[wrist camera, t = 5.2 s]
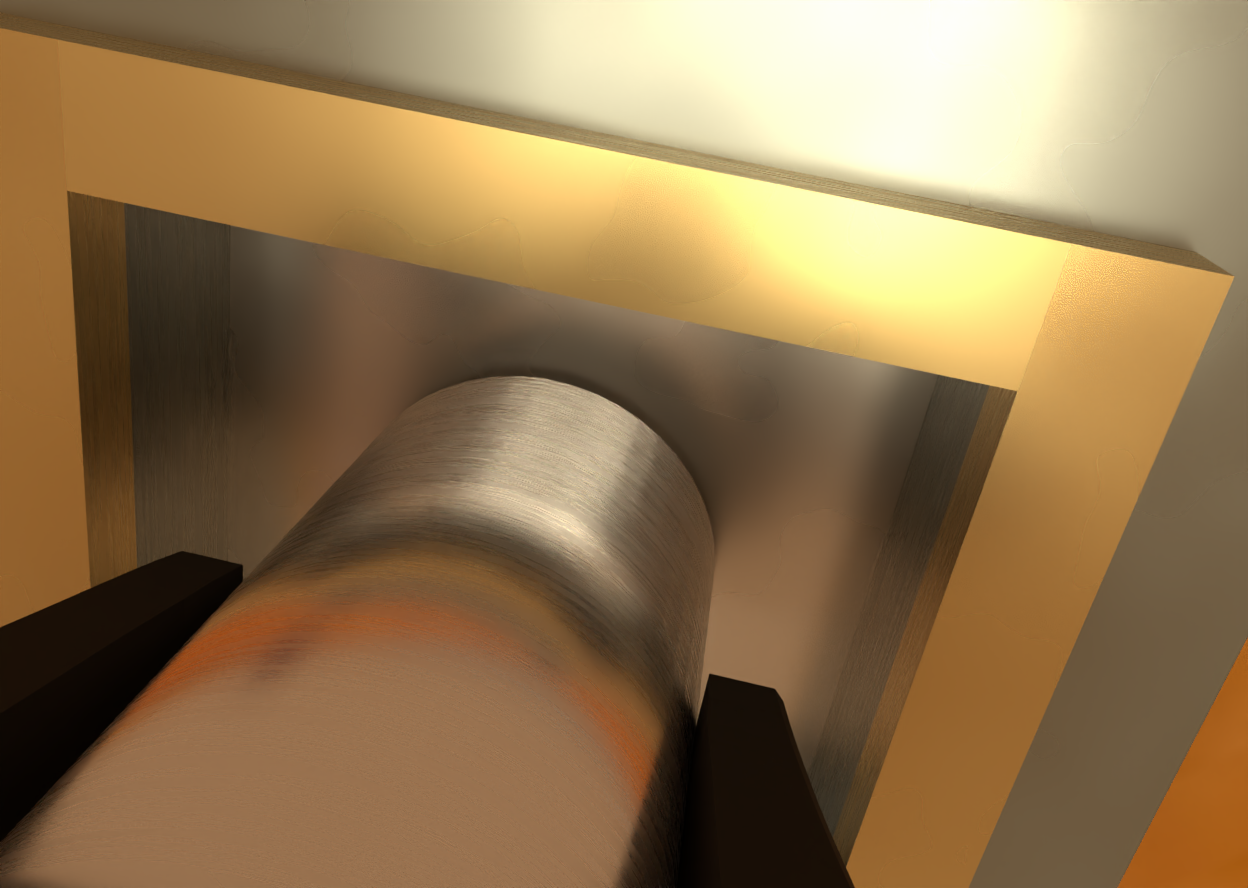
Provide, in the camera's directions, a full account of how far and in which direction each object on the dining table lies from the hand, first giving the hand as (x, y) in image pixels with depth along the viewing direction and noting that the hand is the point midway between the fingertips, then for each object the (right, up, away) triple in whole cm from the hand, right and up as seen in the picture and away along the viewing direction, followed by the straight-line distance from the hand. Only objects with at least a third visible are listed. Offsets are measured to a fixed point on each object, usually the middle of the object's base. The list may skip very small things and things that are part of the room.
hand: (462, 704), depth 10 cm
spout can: (0, +1, +2) cm, 3 cm away
